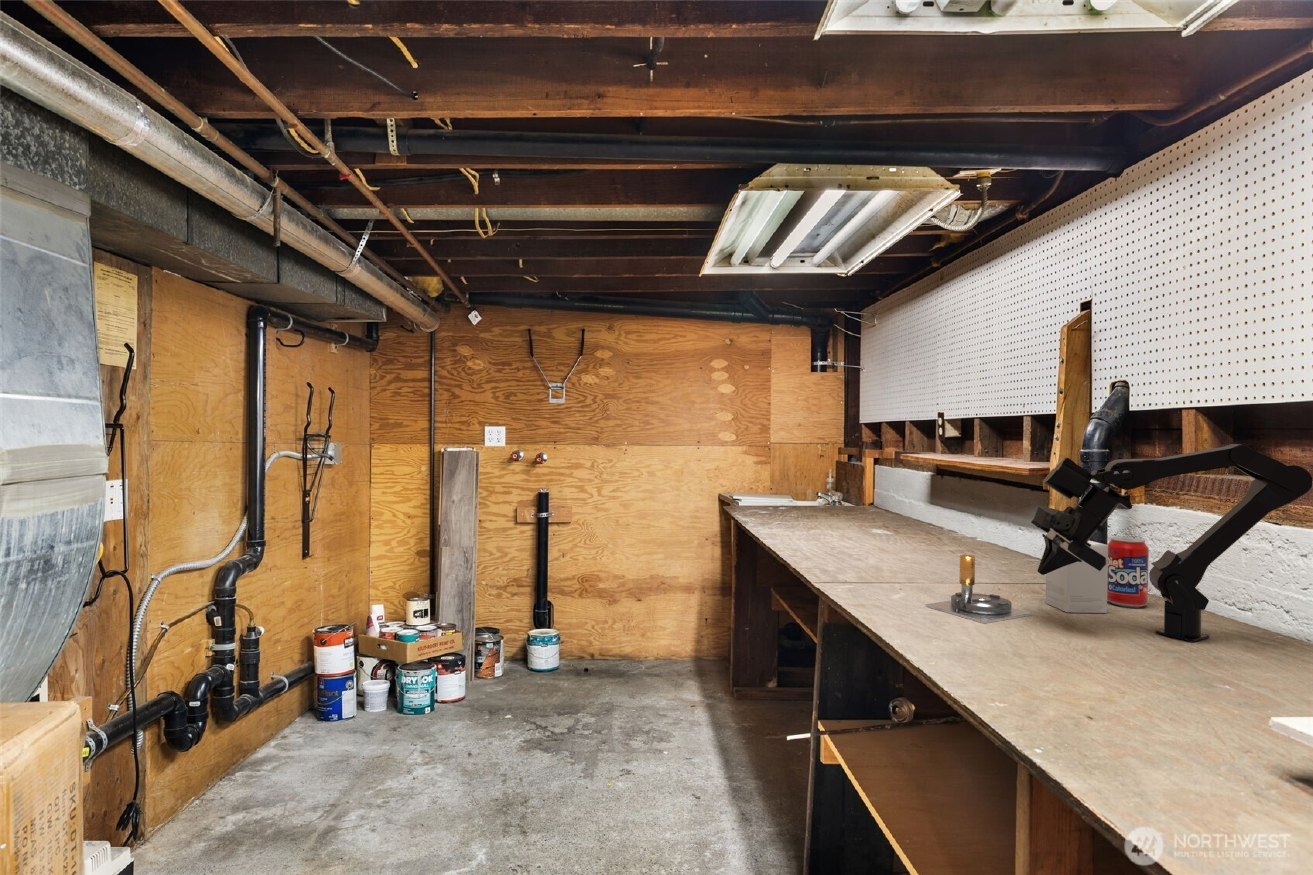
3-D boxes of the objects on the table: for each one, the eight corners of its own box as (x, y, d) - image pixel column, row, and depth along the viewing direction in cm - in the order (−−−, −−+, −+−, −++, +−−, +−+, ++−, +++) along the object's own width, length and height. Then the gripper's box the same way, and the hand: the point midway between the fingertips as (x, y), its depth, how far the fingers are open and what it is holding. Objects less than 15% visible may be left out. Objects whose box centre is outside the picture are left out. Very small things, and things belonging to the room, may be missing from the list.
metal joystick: (1023, 609, 150) (1024, 556, 150) (988, 617, 144) (989, 561, 144) (972, 597, 161) (973, 547, 160) (937, 604, 154) (938, 552, 154)
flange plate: (971, 599, 162) (971, 586, 162) (1031, 615, 149) (1032, 600, 149) (925, 606, 155) (925, 592, 155) (984, 623, 142) (984, 608, 142)
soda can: (1141, 602, 161) (1143, 537, 161) (1152, 610, 154) (1153, 542, 154) (1102, 599, 164) (1103, 535, 164) (1110, 606, 157) (1111, 540, 156)
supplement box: (1108, 614, 150) (1110, 544, 150) (1066, 613, 151) (1068, 544, 150) (1083, 603, 160) (1084, 538, 159) (1044, 602, 160) (1045, 537, 159)
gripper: (1035, 478, 149) (989, 536, 152) (1084, 508, 131) (1030, 573, 134) (1077, 505, 150) (1030, 562, 153) (1131, 538, 132) (1076, 602, 135)
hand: (1039, 573), depth 144 cm, fingers closed
